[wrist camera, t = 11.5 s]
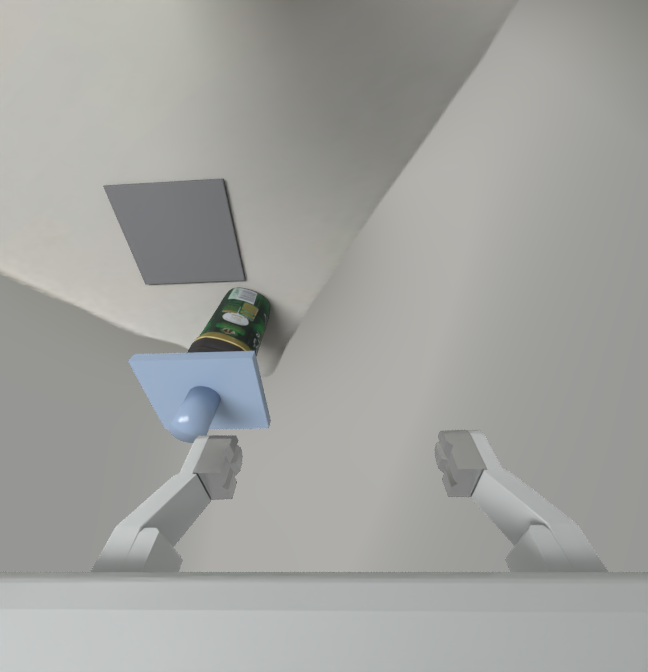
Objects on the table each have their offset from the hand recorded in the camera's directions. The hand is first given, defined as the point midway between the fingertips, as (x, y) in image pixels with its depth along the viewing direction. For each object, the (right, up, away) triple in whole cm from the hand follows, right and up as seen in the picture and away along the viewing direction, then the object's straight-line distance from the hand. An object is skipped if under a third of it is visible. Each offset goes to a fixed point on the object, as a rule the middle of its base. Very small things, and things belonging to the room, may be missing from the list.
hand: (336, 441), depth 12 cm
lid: (-14, -2, +22) cm, 26 cm away
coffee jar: (-14, +8, +37) cm, 41 cm away
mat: (-21, +19, +30) cm, 41 cm away
